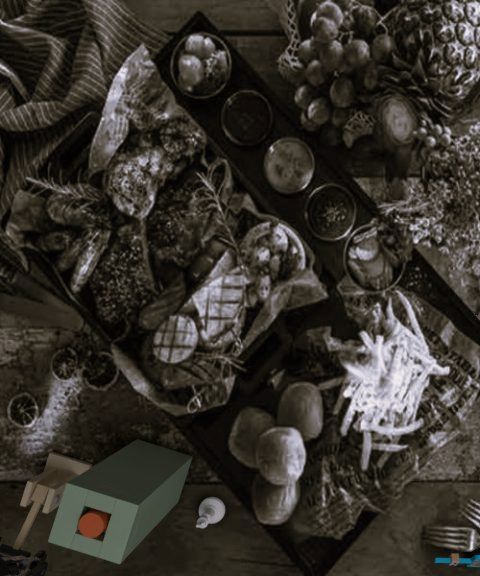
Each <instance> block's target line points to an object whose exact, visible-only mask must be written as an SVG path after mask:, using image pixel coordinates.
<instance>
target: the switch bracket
mask: <svg viewBox="0 0 480 576" xmlns="http://www.w3.org/2000/svg"><path fill="white" fill-rule="evenodd" d="M92 467H93V463H90V462H87V461H83V460H80V459H77V458H75V457H70V456H67V455H64V454H61V453H58V452H56V451H55V452H54V451H51V452H49V453H48V456H47V460H46V463H45V466H44V469H43V472H42V473H40V474H38V475H36V476H34V477H33V478H31V479H29V480H27V481H26V484H25V486H24V489H23V493H22V497H21V500H20V504H19V506H20V507H24V508H26V507H28V506H29V505H31V504H33V503H34V501H32V500H31V497H32V495H33V493H34V491H35V489H36V487H37V485H38V484H40V485H43V486H46V487H49V488H50V489H49V492H48V495H47V498H46V501H45V505H43V508H42V511H41V512H42V513H43V514H46V515H48V514H49V513H51V512H53V511H54V510H55V509H57V508H59V505H60V502H61V499H62V495H63V492H64V489H65V486H66V483H67V482H69V481H70V480H72V479H74V478H75V477H77V476H79V475H80V474H82V473H84V472H85V471H87V470H88V469H90V468H92Z"/></svg>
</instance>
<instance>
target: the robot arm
mask: <svg viewBox="0 0 480 576" xmlns="http://www.w3.org/2000/svg"><path fill="white" fill-rule="evenodd" d="M2 538H3V537H2V536H0V543H1V542H2ZM47 557H48V553H47V550H45V549H40V550H39V551H37V552H36V553H35V554H34V555H32V556H30V557H29V558H26V557H25V556H16V557H12V556H8V555H4V554H2V553H0V576H45V575H46V572H47V569H48V567H49V562H48V561H46V560H47ZM28 565H29V566H28ZM27 567H28V568H27Z"/></svg>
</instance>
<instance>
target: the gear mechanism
mask: <svg viewBox="0 0 480 576" xmlns="http://www.w3.org/2000/svg"><path fill="white" fill-rule="evenodd" d="M433 562H434V564H448V566H451V567H456V566H457V565H458V564H466V567H468V568H480V554H475V555H473V556H472V557H471V558H461V557H460V553H453V552H452V553H450V554H449V555H448V557H435V558H434V559H433Z"/></svg>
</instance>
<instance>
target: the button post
mask: <svg viewBox="0 0 480 576" xmlns="http://www.w3.org/2000/svg"><path fill="white" fill-rule="evenodd" d="M193 458H194V457H193V456H192V455H189V454H186V453H183V452H180V451H176V450H173V449H170V448H166V447H163V446H160V445H157V444H154V443H150V442H148V441H144V440H141V439H137V438H136V439H135V440H133V441H132V442H130V443H129V444H127V445H126V446H124V447H122V448H121V449H119V450H117V451H115V452H114V453H112V454H111V455H109V456H107V457H106V458H105V459H103V460H101V461H99V462H98V463H97V464H94V465H92V468H90V469H88V470H87V471H85V472H84V473H82V474H80V475H79V476H77V477H75V478H74V479H72V480H70V481H69V482H67V483H66V486H65V489H64V492H63V495H62V499H61V502H60V505H59V506H58V507H57V508H58V509H57V511H56V515H55V517H54V521H53V524H52V527H51V529H50V530H51V531H50V533H49V536H48V540H47V542H48V543H49V544H52V545H56V546H59V547H63V548H66V549H69V550H73V551H75V552H76V551H77V552H79V553H82V554H85V555H89V556H92V557H95V558H98V559H102V560H105V561H108V562H112V563H113V564H117V565H121V564H122V563H123V562H124V561H125V559H126V558H127V557H128V556H129V555H130V554H131V553H132V552H133V551H134V550H135V549H136V548H137V547H138V546H139V545H140V543H141V542H142V541H143V540H144V539H145V538H146V537H147V536H148V535H149V534H150V533H151V532H152V531H154V529H155V528H156V527H157V525H159V523H160V522H161V521H162V520H163V519H164V518H165V517H166V516H167V515H168V514H169V513H170V512H171V510H172V509H174V508H175V506H176V505H178V503H179V501H180V498H181V495H182V492H183V489H184V485H185V482H186V480H187V477H188V473H189V470H190V466H191V464H192V460H193ZM93 508H94V509H97V510H100V511H104V512H107V513H109V515H110V521H109V524H108V527H107V528H106V529H105V530H104V531H103V532H102V533H101V534H100V535H98V536H97V537H94V538H88V537H85V536H83V535H82V534H81V532H80V530H79V521H80V519H81V517H82V516H84V515H85V514H86V513H87V512H89V511H90V510H91V509H93Z"/></svg>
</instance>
